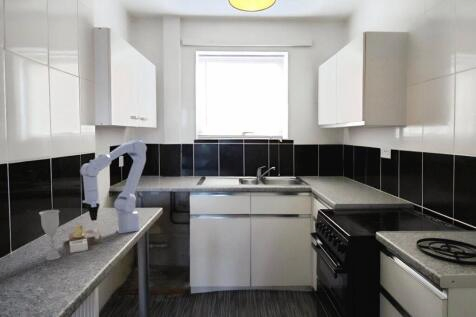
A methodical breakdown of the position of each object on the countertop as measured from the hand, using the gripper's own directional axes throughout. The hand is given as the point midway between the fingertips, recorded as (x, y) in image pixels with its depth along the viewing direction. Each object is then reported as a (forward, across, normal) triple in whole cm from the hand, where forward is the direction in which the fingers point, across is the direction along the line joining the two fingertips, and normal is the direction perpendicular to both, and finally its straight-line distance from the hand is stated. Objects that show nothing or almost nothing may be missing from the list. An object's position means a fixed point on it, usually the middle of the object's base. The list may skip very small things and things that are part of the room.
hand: (93, 220), depth 162 cm
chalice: (+9, +17, -17) cm, 25 cm away
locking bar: (+5, +6, -2) cm, 9 cm away
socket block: (+9, +1, -4) cm, 10 cm away
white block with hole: (+9, +12, -8) cm, 16 cm away
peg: (+6, +3, -7) cm, 9 cm away
